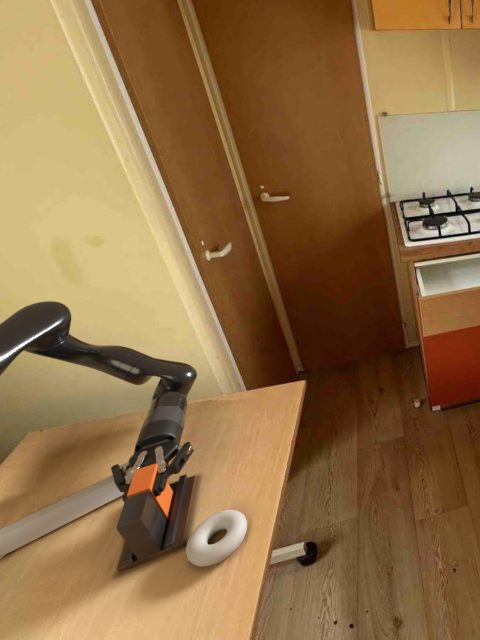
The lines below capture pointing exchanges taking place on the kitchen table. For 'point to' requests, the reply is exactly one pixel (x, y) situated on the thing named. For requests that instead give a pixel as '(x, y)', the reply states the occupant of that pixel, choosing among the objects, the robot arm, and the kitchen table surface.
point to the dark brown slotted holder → (154, 525)
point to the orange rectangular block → (144, 483)
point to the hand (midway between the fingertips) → (142, 497)
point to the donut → (212, 554)
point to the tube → (58, 514)
